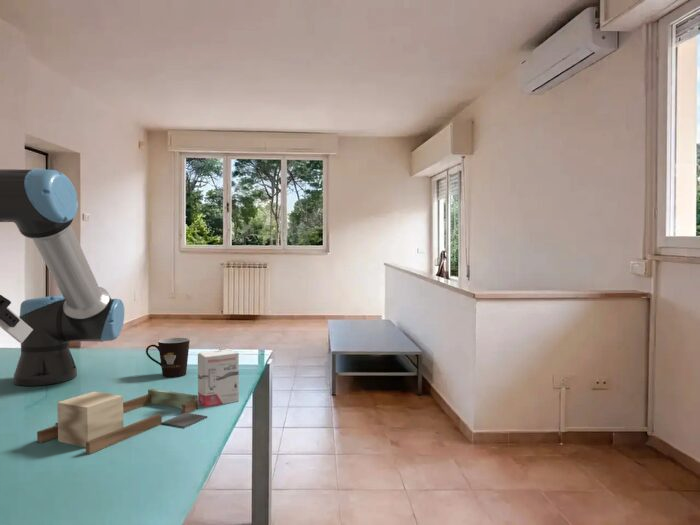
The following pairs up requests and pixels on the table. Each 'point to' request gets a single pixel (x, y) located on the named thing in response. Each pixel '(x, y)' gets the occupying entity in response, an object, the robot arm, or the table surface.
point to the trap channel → (153, 396)
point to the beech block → (89, 417)
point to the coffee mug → (172, 356)
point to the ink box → (218, 377)
